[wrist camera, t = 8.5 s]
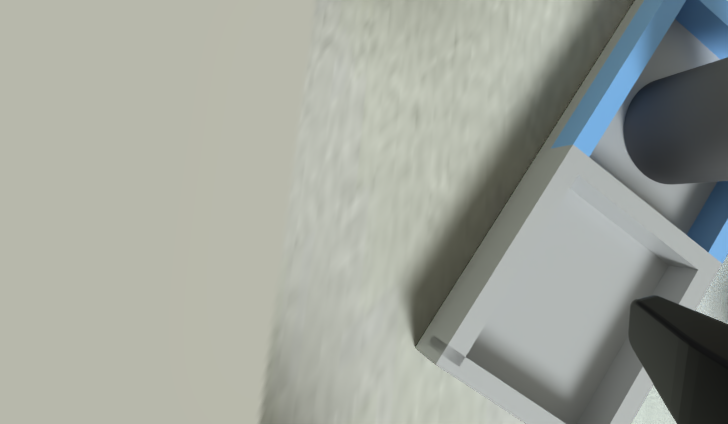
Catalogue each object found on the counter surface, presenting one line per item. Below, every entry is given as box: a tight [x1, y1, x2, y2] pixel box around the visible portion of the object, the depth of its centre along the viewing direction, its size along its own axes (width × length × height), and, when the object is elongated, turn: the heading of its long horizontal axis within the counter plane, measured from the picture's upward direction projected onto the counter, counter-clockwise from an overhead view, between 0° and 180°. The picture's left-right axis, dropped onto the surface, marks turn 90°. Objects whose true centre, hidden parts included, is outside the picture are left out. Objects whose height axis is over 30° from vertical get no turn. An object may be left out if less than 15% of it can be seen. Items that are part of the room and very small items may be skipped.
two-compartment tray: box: [415, 0, 728, 424], centre depth 21 cm, size 18×8×2 cm, turn 146°
